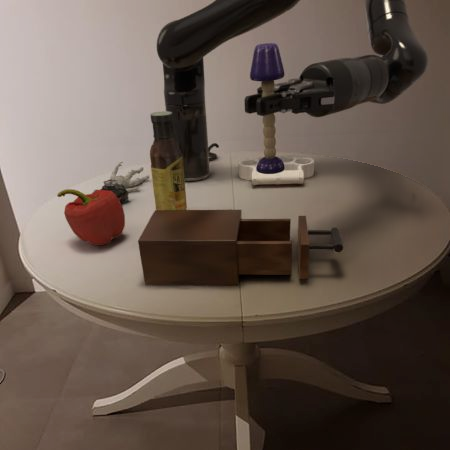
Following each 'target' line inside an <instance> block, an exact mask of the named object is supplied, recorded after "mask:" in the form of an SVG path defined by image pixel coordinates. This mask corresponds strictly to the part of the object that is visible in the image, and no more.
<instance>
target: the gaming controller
mask: <svg viewBox="0 0 450 450" xmlns="http://www.w3.org/2000/svg"><path fill="white" fill-rule="evenodd" d="M97 190H98V189H94V190H93V192H92V193H91V194H93V193H94V192H95V191H97ZM99 190H108V191H112V192H113V193H114V194H115V195H116V196H117V198H118V199H119V201H120V202H123V203H125V204H127V203H128V201H129V192H128V191H127V190H126V188H125V186H123V185H120V184H115V185H112V186H111V185H110V184H107V183H106V184H104V183H103V186H102V187H101V188H100V189H99Z"/></svg>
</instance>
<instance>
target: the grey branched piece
mask: <svg viewBox="0 0 450 450" xmlns="http://www.w3.org/2000/svg"><path fill="white" fill-rule="evenodd" d="M123 163H124V162H123V161H120V162H118V163H117V164H116V166H115V167H114V169H113V171H112V173H111V175H110V177H109V178H108V179H107V180H104V181H103V185H104V184H106V183H107V184H110V185H111V186H112V185H115V184H120V185H123V186H125V188H126V190H127V191H128V193H131V192H134V191H138V190H139V189H140V186H136V185H138V184H142V182H144V181H147V180H149V179H150V176H149V175H148V174H147V175H146V176H143V177H142V178H141V177H136V178H134V179H132V178H133V176H135V175H136V174H140V173H142V172H143V171H144V166H141V167H140V168H138V169H136V170H135V169H131V170H130V171H128V172H127V173H126V174H125V176H123V175H117V173H118V171H119V168H120V167H122V166H123ZM133 186H134V187H133Z"/></svg>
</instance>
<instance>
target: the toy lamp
mask: <svg viewBox="0 0 450 450" xmlns="http://www.w3.org/2000/svg"><path fill="white" fill-rule="evenodd" d="M282 61H283V60H282V57H281V53H280V48H279V46H278V44H277V43H274V42H271V43H270V42H269V43H268V42H267V43H259V44H257V45H255V47H254V50H253V54H252V61H251V66H250V72H249V78H250V81H253V82H260V83H261V84H260V87H262V90H263V93H262V97H265V96H270V95H274V91H273V90H274V86H275V84H276V83H275V81H278V80H281V79H283V78H284V77H285V68H284V64H283V62H282ZM262 124H263V128H262V134H263V136H264V137H263V146H264V149H263V155H264V156H263V157H264V158H262V159H260V161H259V162H258V164H257V167H256V170H257V172H259V173H262V174H276V173H280V172H282V171H284V169H285V167H284V163H283V161H282V160H281V159H280V158H278V156H276V155H277V148H276V143H277V140H276V137H275V135H276V133H277V131H276V126H275V124H276V115H275V113H272V114H268V115H265V116H262Z"/></svg>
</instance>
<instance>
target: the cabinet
mask: <svg viewBox="0 0 450 450" xmlns="http://www.w3.org/2000/svg"><path fill="white" fill-rule="evenodd" d="M242 216H243V211H242V209H186V210H156V209H155V210H154V211H153V213H152V215H151V216H150V218H149V220H148V222H147V224H146V225H145V227H144V229H143V230H142V232H141V234H140V236H139V238H138V240H137V243H138V250H139V257H140V262H141V268H142V274H143V281H144V285H153V286H155V285H157V286H158V285H159V286H160V285H163V286H164V285H168V286H169V285H171V286H239V280H240V274H238V262H237V239H238V233H239V227H240V220H241V219H243V217H242Z"/></svg>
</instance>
